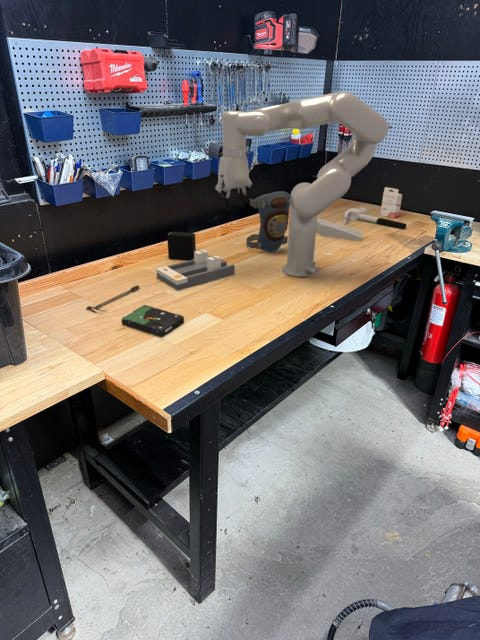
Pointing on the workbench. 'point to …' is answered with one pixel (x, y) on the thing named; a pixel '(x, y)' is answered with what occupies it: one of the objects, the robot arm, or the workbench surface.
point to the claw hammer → (370, 218)
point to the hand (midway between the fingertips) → (234, 207)
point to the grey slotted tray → (192, 273)
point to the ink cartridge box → (391, 203)
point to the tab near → (213, 262)
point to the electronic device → (181, 246)
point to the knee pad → (271, 221)
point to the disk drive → (153, 320)
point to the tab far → (200, 256)
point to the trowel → (337, 230)
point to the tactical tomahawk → (112, 299)
